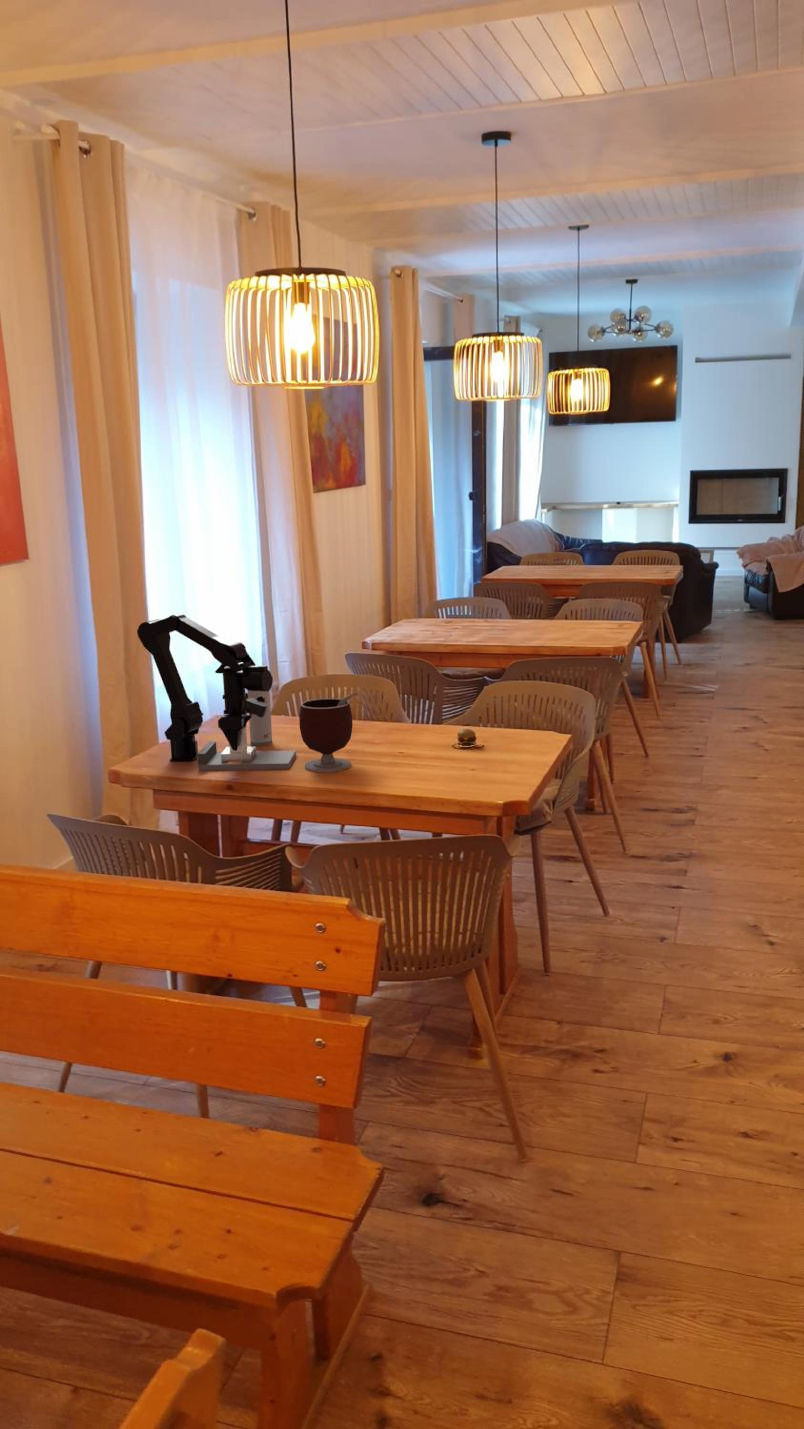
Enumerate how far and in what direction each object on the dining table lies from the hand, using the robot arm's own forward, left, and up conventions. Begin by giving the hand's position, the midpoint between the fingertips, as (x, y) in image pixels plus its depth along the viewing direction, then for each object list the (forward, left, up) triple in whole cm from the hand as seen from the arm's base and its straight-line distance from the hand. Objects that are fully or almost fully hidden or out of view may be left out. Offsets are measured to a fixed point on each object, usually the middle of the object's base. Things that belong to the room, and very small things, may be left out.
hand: (238, 746), depth 306 cm
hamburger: (+62, +15, -6) cm, 64 cm away
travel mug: (+2, +22, -5) cm, 23 cm away
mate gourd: (+25, -5, -5) cm, 26 cm away
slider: (0, 0, -3) cm, 3 cm away
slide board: (+2, 0, -5) cm, 5 cm away
